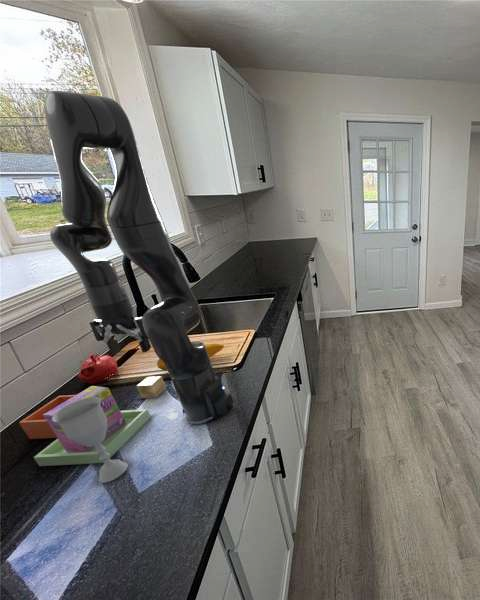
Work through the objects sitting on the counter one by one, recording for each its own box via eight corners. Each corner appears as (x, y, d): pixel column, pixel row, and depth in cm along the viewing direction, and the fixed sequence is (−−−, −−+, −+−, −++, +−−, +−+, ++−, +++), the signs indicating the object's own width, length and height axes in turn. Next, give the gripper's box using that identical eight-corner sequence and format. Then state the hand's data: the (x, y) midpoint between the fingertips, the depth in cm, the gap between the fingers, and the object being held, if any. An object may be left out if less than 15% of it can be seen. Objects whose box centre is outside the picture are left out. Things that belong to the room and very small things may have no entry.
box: (84, 455, 74) (60, 416, 69) (65, 452, 75) (41, 414, 70) (127, 423, 83) (109, 386, 79) (110, 421, 84) (91, 385, 80)
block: (166, 387, 98) (161, 375, 96) (156, 397, 94) (151, 385, 92) (152, 388, 98) (147, 376, 96) (141, 398, 94) (136, 386, 92)
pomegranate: (112, 366, 112) (101, 343, 108) (127, 372, 107) (116, 349, 104) (77, 382, 104) (63, 358, 100) (91, 390, 99) (77, 365, 96)
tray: (151, 417, 86) (147, 409, 85) (105, 462, 72) (100, 453, 71) (95, 420, 86) (90, 412, 85) (39, 466, 73) (33, 457, 72)
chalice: (98, 492, 65) (57, 426, 59) (87, 478, 69) (47, 414, 62) (139, 466, 71) (106, 403, 64) (127, 454, 74) (94, 392, 68)
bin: (103, 409, 90) (94, 393, 88) (68, 437, 81) (58, 420, 79) (68, 411, 90) (59, 395, 88) (29, 439, 81) (18, 422, 79)
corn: (153, 349, 105) (219, 331, 115) (161, 367, 109) (225, 348, 119) (152, 360, 100) (222, 340, 110) (160, 379, 103) (227, 358, 113)
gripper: (69, 306, 80) (95, 360, 86) (125, 303, 80) (147, 357, 86) (94, 295, 87) (117, 346, 93) (146, 292, 87) (165, 343, 93)
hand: (132, 351), depth 89 cm, fingers open, 8 cm apart
